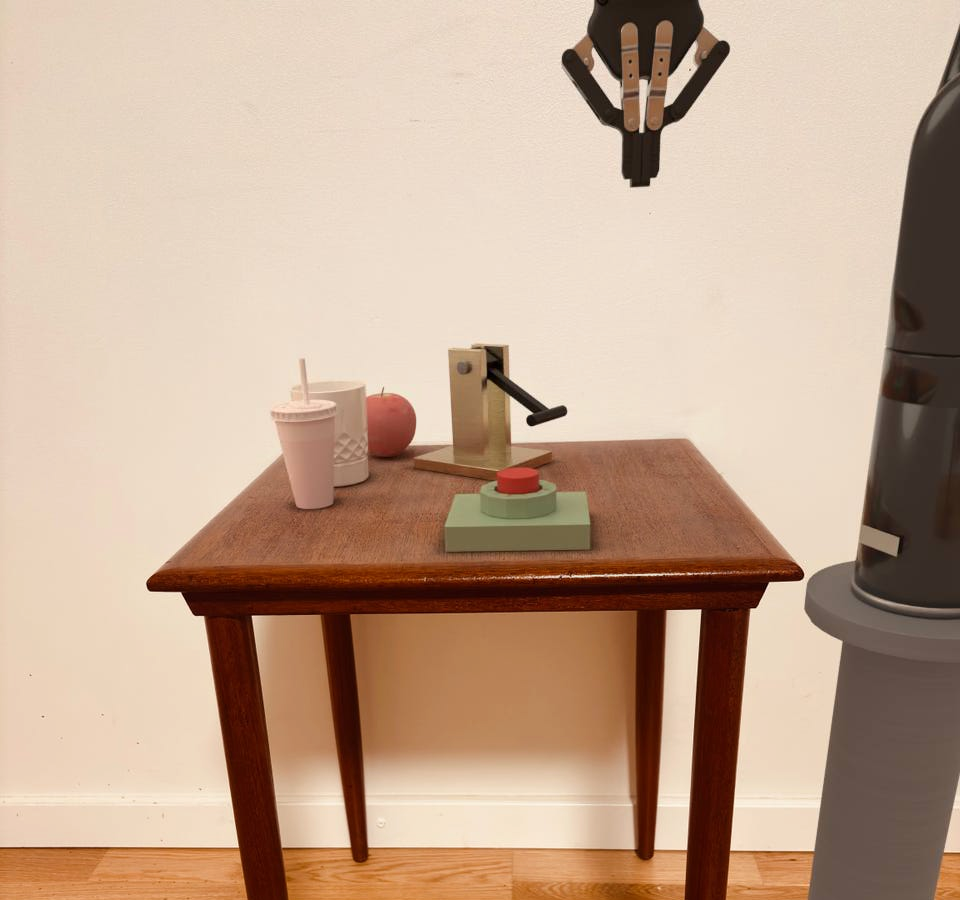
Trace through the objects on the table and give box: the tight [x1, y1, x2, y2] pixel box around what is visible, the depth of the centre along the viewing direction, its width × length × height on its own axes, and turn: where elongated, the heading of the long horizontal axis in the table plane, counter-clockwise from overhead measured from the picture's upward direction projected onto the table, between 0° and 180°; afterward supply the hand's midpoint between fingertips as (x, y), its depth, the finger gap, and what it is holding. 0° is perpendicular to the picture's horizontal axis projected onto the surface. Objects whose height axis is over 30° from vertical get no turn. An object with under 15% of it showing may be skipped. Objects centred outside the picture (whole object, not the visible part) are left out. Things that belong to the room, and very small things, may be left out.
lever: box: [469, 347, 568, 428], centre depth 98 cm, size 12×6×2 cm, turn 52°
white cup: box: [289, 379, 370, 488], centre depth 98 cm, size 8×8×10 cm
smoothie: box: [269, 357, 338, 510], centre depth 89 cm, size 6×6×14 cm
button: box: [497, 468, 540, 495], centre depth 79 cm, size 4×4×2 cm
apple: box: [366, 386, 417, 458], centre depth 108 cm, size 7×7×8 cm
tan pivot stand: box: [412, 342, 553, 482], centre depth 101 cm, size 12×10×13 cm
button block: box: [443, 479, 591, 553], centre depth 80 cm, size 12×10×4 cm
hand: (640, 186), depth 73 cm, fingers closed
